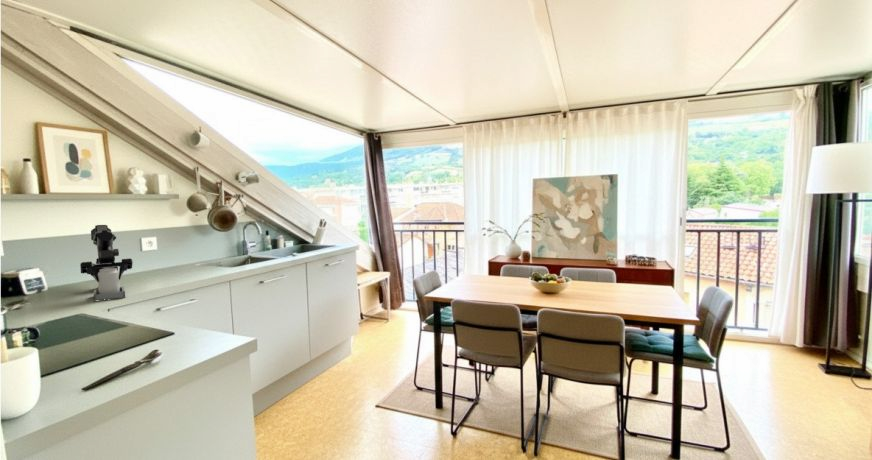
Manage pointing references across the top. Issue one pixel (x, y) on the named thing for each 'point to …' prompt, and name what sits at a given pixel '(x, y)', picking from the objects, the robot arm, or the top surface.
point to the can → (108, 280)
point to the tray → (109, 295)
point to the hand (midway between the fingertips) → (108, 280)
